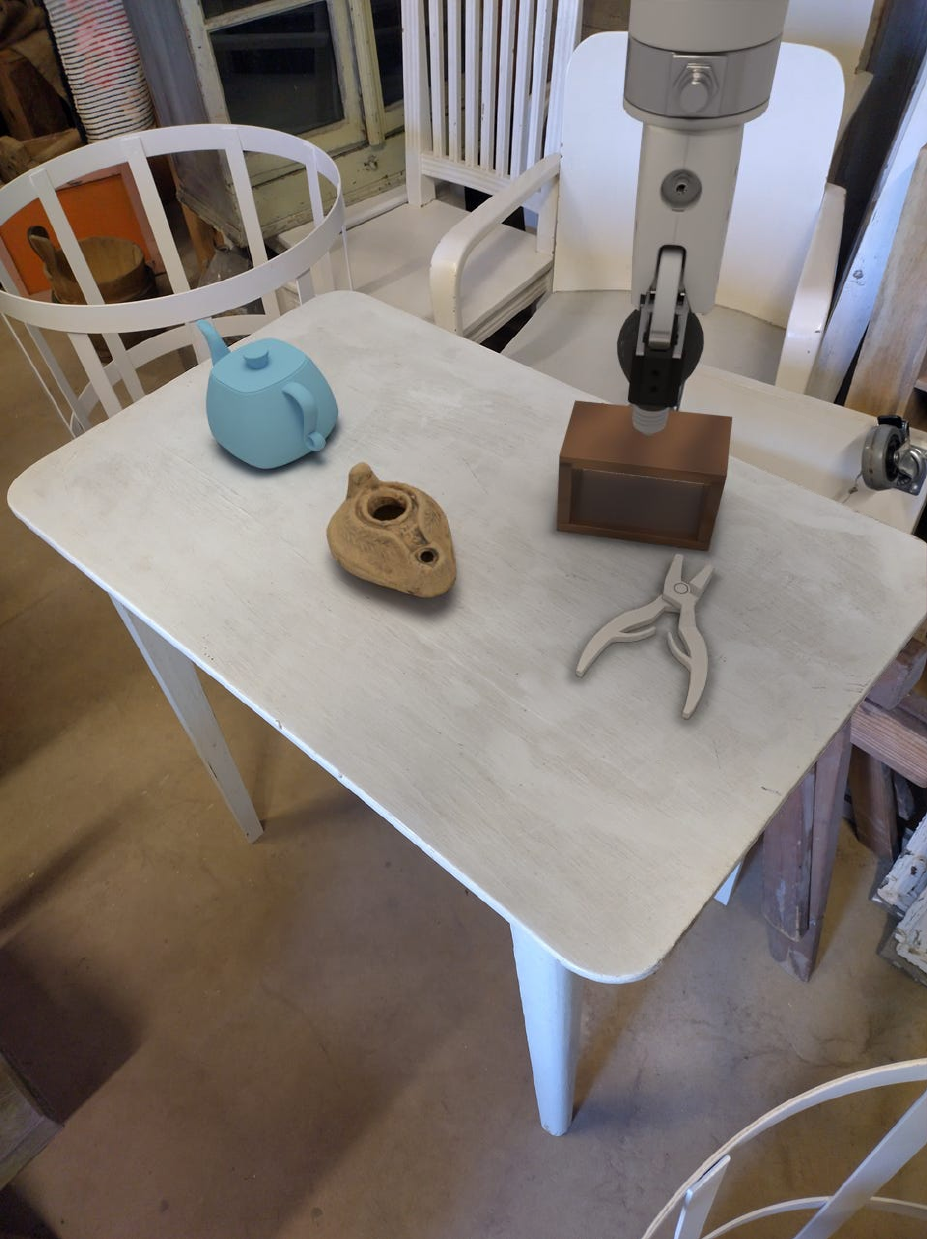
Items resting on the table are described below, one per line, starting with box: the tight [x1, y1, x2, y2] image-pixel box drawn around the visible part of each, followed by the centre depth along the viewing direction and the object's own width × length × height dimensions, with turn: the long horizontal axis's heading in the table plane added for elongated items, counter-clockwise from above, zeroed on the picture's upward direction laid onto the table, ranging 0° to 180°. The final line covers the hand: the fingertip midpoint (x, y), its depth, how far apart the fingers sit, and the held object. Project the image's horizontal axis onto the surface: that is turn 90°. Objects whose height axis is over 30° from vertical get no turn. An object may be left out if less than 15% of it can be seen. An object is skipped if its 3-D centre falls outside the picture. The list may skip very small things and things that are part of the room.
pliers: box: [575, 553, 715, 720], centre depth 68 cm, size 10×2×15 cm
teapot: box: [196, 319, 339, 470], centre depth 85 cm, size 13×11×18 cm
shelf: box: [555, 400, 733, 552], centre depth 74 cm, size 14×8×9 cm, turn 75°
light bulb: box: [616, 300, 705, 435], centre depth 56 cm, size 6×6×10 cm
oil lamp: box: [325, 461, 457, 598], centre depth 72 cm, size 11×15×8 cm
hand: (656, 372), depth 56 cm, fingers closed on light bulb, 5 cm apart
